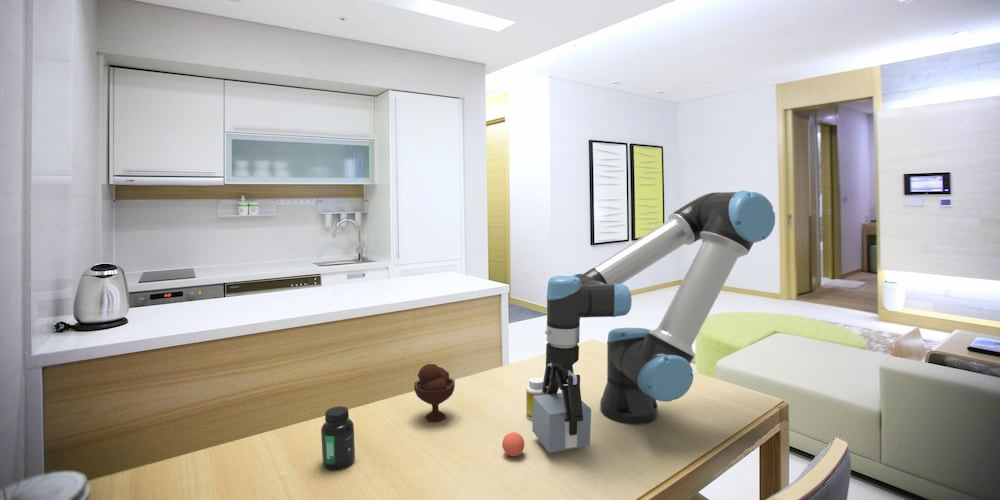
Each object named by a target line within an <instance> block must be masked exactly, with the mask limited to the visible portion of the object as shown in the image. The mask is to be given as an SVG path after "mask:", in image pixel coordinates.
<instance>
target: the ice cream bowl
mask: <svg viewBox="0 0 1000 500" xmlns="http://www.w3.org/2000/svg"><path fill="white" fill-rule="evenodd" d="M417 377H418V379H419V380H417V381H415V382H414V386H413V388H414V393H415V395H416V397H417V398H418V399H420V400H421V401H423V402H424V403H427V404H428V405H431V411H430V412H428V413H426V415H425V421H426V422H429V423H439V422H442V421H444V420H445V419H446V414H445V412H444V411H440V410H439V405H440V404H443V403H444V402H446V401H447V400H448V399H450V397H451V396H452V395H453V392H454V391H455V386H456V385H455V380H456V379H453V378H450V373H449V372H448V371H447V370H446V369H445V368H443V367H440V366H438V365H437V364H436V363H427V364H424V365H423V366H422V367H421V368H420V369H419V370H418V373H417Z"/></svg>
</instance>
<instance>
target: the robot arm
mask: <svg viewBox="0 0 1000 500" xmlns="http://www.w3.org/2000/svg"><path fill="white" fill-rule="evenodd" d="M775 224H776V213H775V211H774V206H773V204H772V203H771V201H770V200H769V199H768V198H767V197H766V196H765V195H763V194H762V193H760V192H756V191H755V192H754V191H748V190H747V191H746V190H741V191H727V192H725V191H724V192H710V193H706V194H703V195H702V196H699V197H697V198H694V199H693V200H692V201H690V202H688V203H686V204H685V205H683V206H682V207H680V208H678V209H676V210H675V211H674V212H672V213H671V214H669V215H668V218H667V221H665V222H663V223H662V224H660V225H659V226H658V227H655V228H654V229H653V230H650V231H649V232H648V233H646V234H644V235H642V237H640V238H638V239H636V240H635V241H633V242H632V243H630V244H628V246H626V247H624V248H623V249H621V250H620V251H618V252H616V253H615V254H613V255H611V256H610V257H608V258H607V259H605V260H603V261H602V262H600V263H599V264H597V265H595V266H593V267H592V268H590V269H589V270H587V271H586V272H584V273H576V274H573V275H555V276H552V277H550V278H549V279H548V282H547V288H546V289H547V290H546V330H545V331H544V333H545V335H546V341H547V343H546V345H545V370H544V376H543V379H544V381H543V388H542V392H543V393H545V395H546V394H554V393H559V390H560V391H561V393H562V394H563V399H564V404H565V410H566V415H567V419H564V420H565V445H564V447H565V448H573V447H577V424H578V421H583V411H582V401H583V400H582V392H581V375H580V374H575V372H574V367H573V365H574V364H575V363H577V362H578V361H579V360H580V359H579V358H580V357H579V356H580V345H579V343H580V336H581V335H580V329H581V328H580V325H581V322H580V321H581V318H583V319H584V318H608V317H609V318H610V317H611V318H615V317H623V316H627V315H628V314H629V313H630V311H631V308H632V294H631V291H630V288H629V287H628V286H627V285H625V284H624V283H625V282H627V281H628V280H630V279H632V278H633V277H635V276H636V275H638V274H640V273H641V272H642V271H644V270H646V269H648V268H649V267H650V266H652V265H654V264H655V263H657V262H659V261H660V260H662V259H663V258H665V257H667V256H668V255H669V254H671V253H672V252H674V251H675V250H677V249H679V248H680V247H682V246H684V245H686V246H690V245H693V244H694V243H696V242H698V241H700V240H701V241H702V243H701V245H700V247H699V248H698V251H697V252H696V255H695V257H694V258H693V260H692V262H691V264H690V266H689V268H688V269H687V271H686V274H685V275H684V278H683V280H682V282H681V283H680V285H679V287H678V289H677V290H676V292H675V294H674V296H673V298H672V300H671V303H670V304H669V305H668V308H667V309H666V311H665V314H664V316H662V319H661V321H660V322H659V325H658V326H657V328H655V329H652V330H651V329H648V328H642V327H620V328H619V327H617V328H613V329H611V330H609V332H608V334H607V341H606V344H607V345H606V346H607V348H606V349H607V350H606V352H607V355H606V356H607V359H606V360H607V364H606V365H607V367H606V370H607V371H606V374H607V375H606V377H607V378H606V385H605V387H604V390H603V393H602V396H601V398H600V403H599V405H600V406H599V407H600V408H599V409H600V412H601V413H602V415H604V416H605V417H606V418H608V419H610V420H613V421H616V422H620V423H623V424H630V425H631V424H633V425H642V424H648V423H651V422H653V421H655V420H656V419H657V418H658V415H659V414H658V412H659V411H658V410H659V409H658V408H659V407H658V404H657V401H658V402H662V403H667V402H669V403H670V402H672V401H674V400H675V401H676V400H678V399H680V398H682V397H683V396H684V395H685V394H687V392H688V391H689V390H690V388H691V387H692V384H693V381H694V374H693V371H694V370H693V367H692V365H691V363H692V362H693V359H694V357H695V353H694V350H693V344H694V342H695V340H696V338H697V336H698V334H699V333H700V331H701V329H702V328H703V325H704V323H705V322H706V319H707V317H708V316H709V314H710V312H711V310H712V307H714V304H715V302H716V301H717V298H718V297H719V295H720V293H721V292H722V290H723V287H724V285H725V283H726V281H727V279H729V278H728V277H729V276H730V274H731V272H732V271H733V270H732V269H733V267H735V264H736V262H737V261H738V259H739V258H741V257H744V256H747V255H748V254H749V253H750V250H751V249H752V247H753V245H754V244H756V243H759V242H762V241H763V240H764V241H765V240H766V239H768V237H769V236H770V235H771V234H772V232H773V231H774V228H775ZM581 400H582V401H581Z"/></svg>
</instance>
